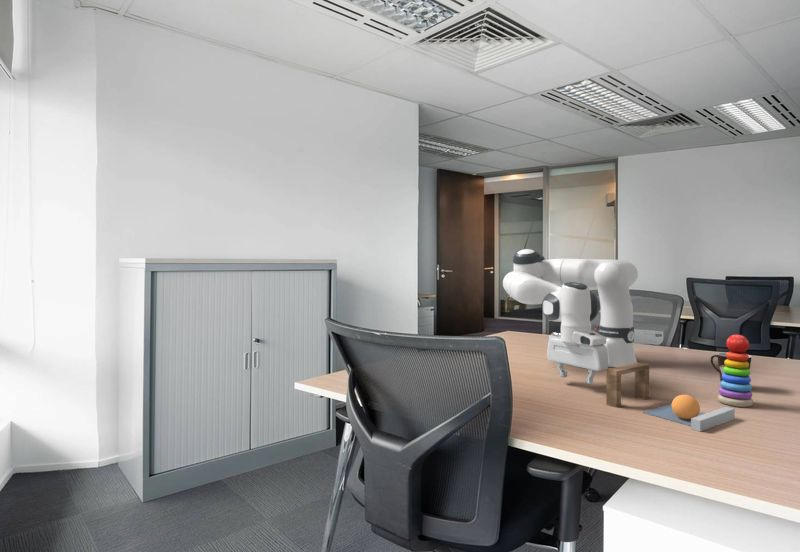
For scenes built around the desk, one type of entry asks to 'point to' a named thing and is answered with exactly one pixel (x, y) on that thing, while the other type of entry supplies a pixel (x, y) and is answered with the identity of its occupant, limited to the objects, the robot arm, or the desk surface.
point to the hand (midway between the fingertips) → (575, 380)
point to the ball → (685, 407)
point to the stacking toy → (736, 374)
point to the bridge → (615, 382)
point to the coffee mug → (721, 360)
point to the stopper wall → (712, 419)
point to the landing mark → (668, 414)
